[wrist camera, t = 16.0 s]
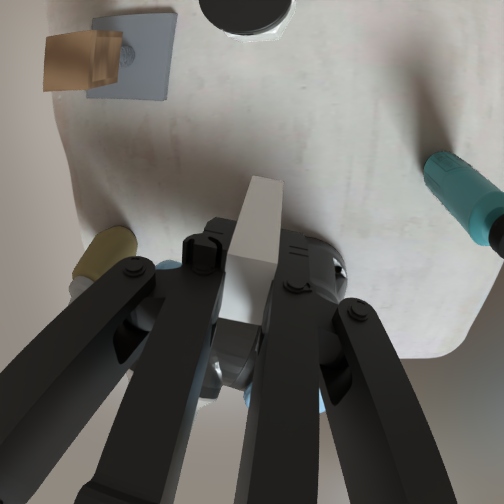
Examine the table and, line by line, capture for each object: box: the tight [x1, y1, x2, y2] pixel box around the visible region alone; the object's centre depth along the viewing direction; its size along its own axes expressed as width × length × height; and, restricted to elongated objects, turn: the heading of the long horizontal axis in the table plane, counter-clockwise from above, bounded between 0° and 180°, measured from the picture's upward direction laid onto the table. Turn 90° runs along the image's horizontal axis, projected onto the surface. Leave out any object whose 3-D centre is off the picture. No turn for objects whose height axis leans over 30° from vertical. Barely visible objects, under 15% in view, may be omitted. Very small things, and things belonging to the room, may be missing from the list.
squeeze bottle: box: [68, 226, 138, 306], centre depth 43 cm, size 8×8×18 cm
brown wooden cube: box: [43, 30, 123, 92], centre depth 24 cm, size 6×6×6 cm
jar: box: [199, 0, 296, 42], centre depth 25 cm, size 9×8×12 cm
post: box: [119, 46, 135, 68], centre depth 28 cm, size 3×3×12 cm
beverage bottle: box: [423, 151, 504, 259], centre depth 29 cm, size 6×7×20 cm
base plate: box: [87, 13, 178, 101], centre depth 33 cm, size 12×12×2 cm
